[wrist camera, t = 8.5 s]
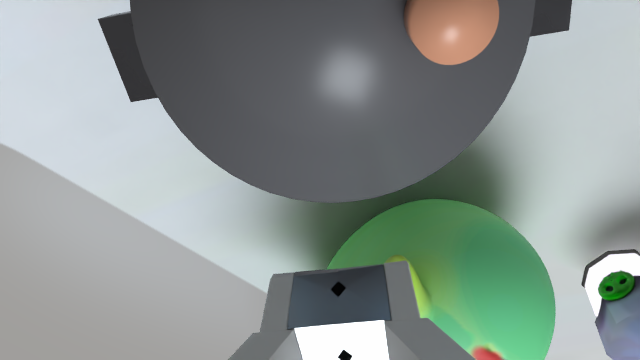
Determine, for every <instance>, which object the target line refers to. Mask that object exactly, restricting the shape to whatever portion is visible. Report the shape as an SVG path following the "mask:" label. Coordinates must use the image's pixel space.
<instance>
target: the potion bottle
mask: <svg viewBox="0 0 640 360" xmlns="http://www.w3.org/2000/svg"><path fill="white" fill-rule="evenodd" d="M582 286H583V287H585V288H586V291H587V294H588V296H589V299H590V302H591V305H592V307H593V310H594V313H595V315H596V316H597V318H596V321H595V324H596V326H597V329H598V332H599V335H600V337H601V340H602V343H603V346H604V348H605V351H606V354H607V355H608V356H609V357H611V358H612V359H613V360H640V254H639V253H638V252H637V251H636V250H620V251H608V252H606V253H605V254H603V255H602V256H600V257H599V258H597V259H596V260H594V261H593V262H592V263H590V264H589V265H587V266H586V268H585V272H584V277H583V281H582Z"/></svg>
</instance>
